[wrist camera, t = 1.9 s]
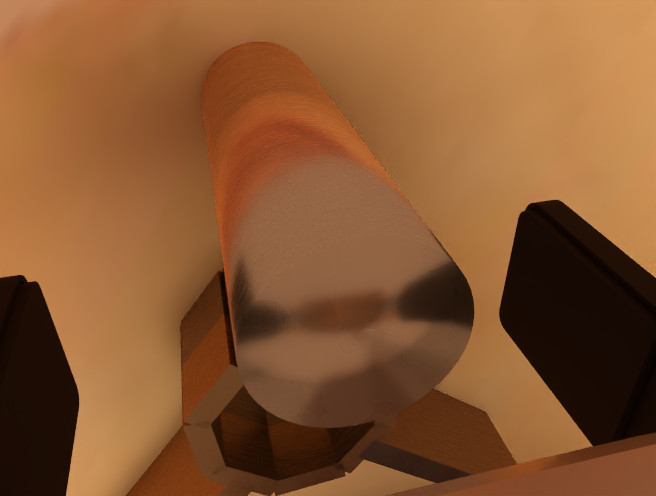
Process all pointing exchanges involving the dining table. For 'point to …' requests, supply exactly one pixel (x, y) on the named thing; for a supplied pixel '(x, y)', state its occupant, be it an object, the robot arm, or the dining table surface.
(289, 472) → the hinge
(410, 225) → the hinge pin
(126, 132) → the dining table surface
